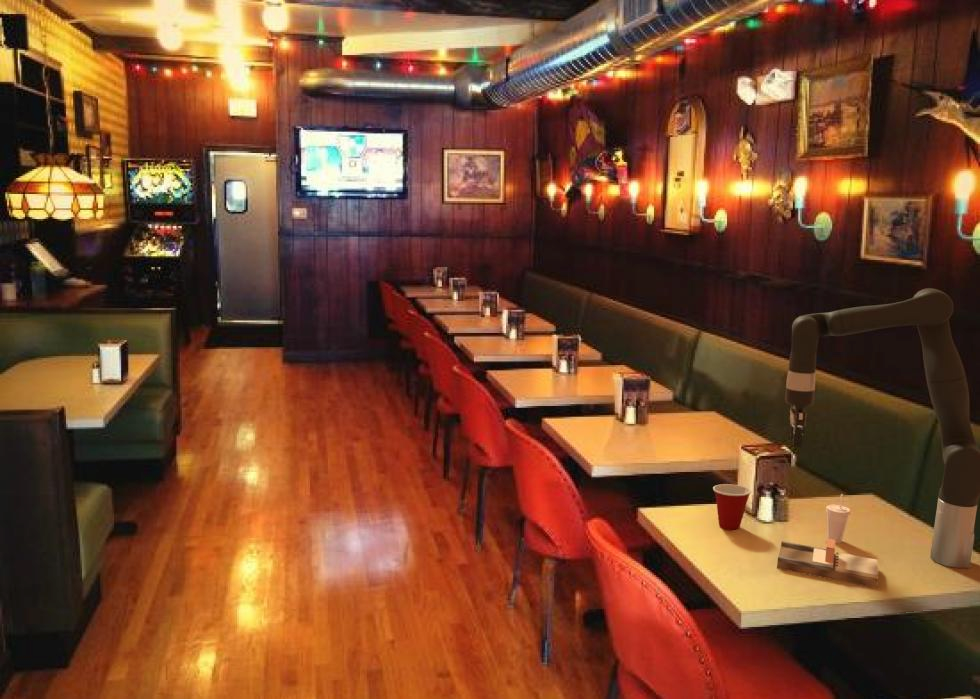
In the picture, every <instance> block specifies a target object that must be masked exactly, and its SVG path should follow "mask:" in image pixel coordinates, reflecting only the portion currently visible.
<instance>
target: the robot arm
mask: <svg viewBox="0 0 980 699" xmlns="http://www.w3.org/2000/svg"><path fill="white" fill-rule="evenodd" d="M954 309H955V308H954V302H953V300H952V298H951V297H950V296H949V295H948V294H947V293H945V292H944V291H941V290H940V289H936V288H932V287H931V288H930V287H928V288H923V289H921V290H919V291H917V292H916V293H915V294H914V295H913V297H912V298H908V299H906V300H903V301H898V302H893V303H887V304H886V303H885V304H884V303H883V304H876V305H863V306H855V307H849V308H843V309H838V310H834V311H830V312H818V313H810V314H804V315H800V316H798V317H796V318H795V319H794V321H793V322H792V324H791V351H790V354H789V362H788V371H787V376H786V384H785V385H786V386H785V395H784V396H785V397H784V399H785V400H784V401H785V403H787V404H788V405H790V409H789V414H790V415H789V421H790V422H789V423H790V433H789V435H790V436H789V437H790V439H791V440H792V446H793V447H794V448H801V447H802V442H803V435H805V432H806V431H805V428H806V418H807V411H806V409H805V407H810V406H813V404H814V401H815V400H814V399H815V389H816V387H815V386H816V371H817V370H816V367H817V352H818V345H819V340H820V339H819V338H821V337H827V336H834V337H841V336H849V335H854V334H859V333H864V332H865V333H866V332H869V331H870V332H871V331H875V330H881V329H882V330H883V329H887V328H894V327H902V326H916V328H917V331H918V334H919V338H920V342H921V348H922V357H923V359H922V360H923V366H924V373H925V378H926V384H927V389H928V393H929V397H930V400H931V405H932V407H933V409H934V412H935V416H936V419H937V422H938V425H939V428H940V429H939V430H940V439H941V448H942V449H941V450H942V461H943V464H944V468H943V469H944V470H943V476H942V483H941V487H939V490H938V497H937V506H936V513H935V518H934V520H935V521H934V525H933V533H932V534H933V535H932V541H931V547H930V554H929V556H930V559H931V560H932V561H934V562H935V563H937V564H940V565H942V566H947V567H950V568H967V569H970V568H971V562H972V554H973V548H974V542H975V532H974V531H975V530H974V529H975V523H976V522H975V521H976V516H977V510H978V504H979V503H978V502H979V498H980V448H979V446H978V444H977V441H976V438H975V435H974V432H973V429H972V425H971V420H970V419H971V418H970V392H969V387H968V386H969V384H968V379H967V376H966V372H965V367H964V365H963V363H962V360H961V357H960V355H959V352H958V350H957V347H956V345H955V343H954V340H953V337H952V333H951V332H952V331H951V326H950V325H951V324H950V317H952V315H953V313H954Z"/></svg>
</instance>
